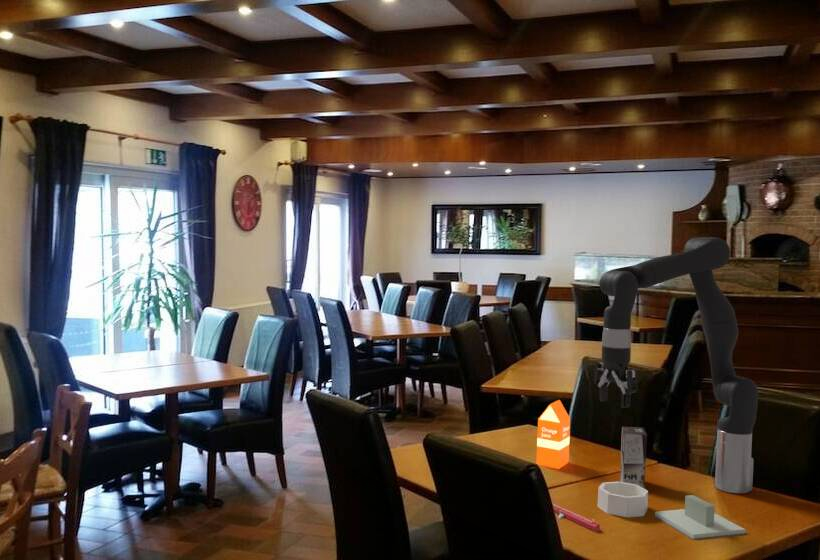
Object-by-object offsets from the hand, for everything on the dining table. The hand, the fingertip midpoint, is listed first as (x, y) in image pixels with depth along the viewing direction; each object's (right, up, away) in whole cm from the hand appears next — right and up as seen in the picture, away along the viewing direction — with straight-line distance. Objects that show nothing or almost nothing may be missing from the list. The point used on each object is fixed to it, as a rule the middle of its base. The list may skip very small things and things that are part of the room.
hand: (614, 404), depth 195 cm
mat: (+18, -29, -13) cm, 36 cm away
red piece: (-16, -28, -8) cm, 33 cm away
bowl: (+1, -28, -3) cm, 28 cm away
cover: (+18, -28, -13) cm, 36 cm away
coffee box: (+10, -27, +18) cm, 34 cm away
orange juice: (-10, -25, +36) cm, 45 cm away
